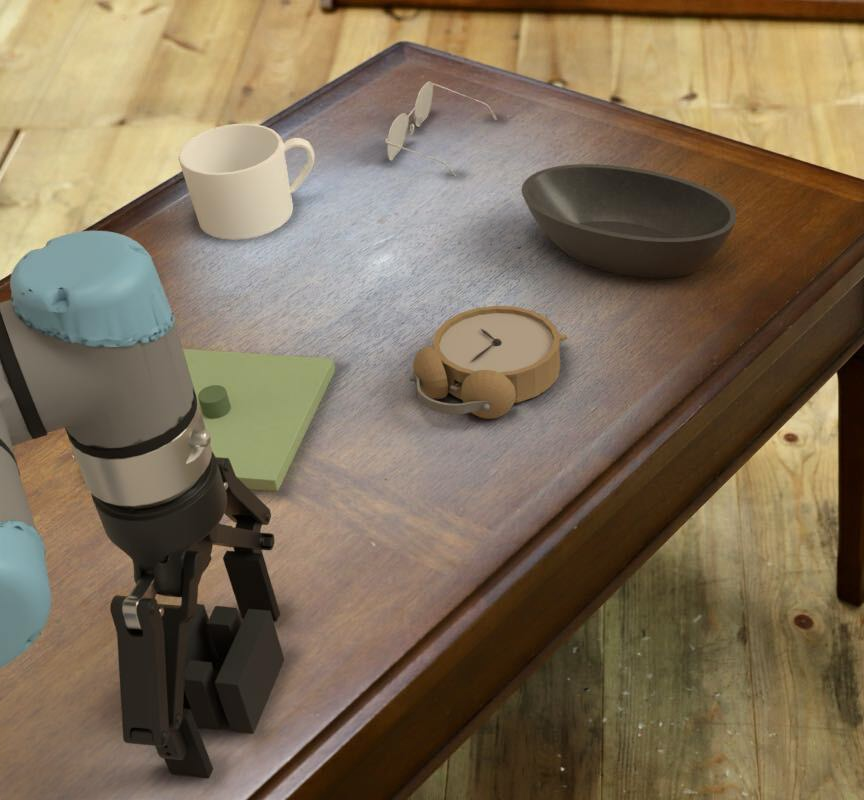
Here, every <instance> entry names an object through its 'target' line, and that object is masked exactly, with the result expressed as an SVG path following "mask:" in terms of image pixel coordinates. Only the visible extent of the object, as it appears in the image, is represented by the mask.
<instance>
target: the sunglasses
mask: <svg viewBox="0 0 864 800" xmlns="http://www.w3.org/2000/svg"><path fill="white" fill-rule="evenodd" d="M434 87H438V88H440V89H443V90H446V91H447V92H452V93H454V94H457V95H459V96H462V97H464V98H468V99H470V100H473V101H475V102H477V103H479V104H482V105H484V106H485V107H487V108H488V110H489V111H490V114H491V116H492V117H493V120H494V121H498V119H497V117H496V114H494V112H493V110H492V109H491V107H490V106H489V104H487V103H485V102H483V101H481V100H478V99H475V98H472V97H470V96H468V95H465V94H462V93H460V92H457V91H455V90H452V89H450V88H448V87H445V86H443V85H440V84H437V83H434V82H432V81H427V82H425V83H424V85H423V86H421V88H420V90H419V92H418V94H417V97H416V100H415V104H414V108H413V109H412V110H411V111H410V112H409V113H408V114H407V113H404V112H402V113H400V114H399V115H398V116H396V117H395V119H394V120H393V121H392V123H391V124H390V128H389V130H388V135H387V136H388V137H386V138H385V144H387V145H386V154H387V159H388V160H389V161H390V162H392V161H393V160H394V158H395V157H396V155H398V153H399V152H400V151H401V150H404V151H407V152H410V153H413V154H417V155H420V156H422V157H425V158H429V159H431V160H433V161H436V162H439V163H442V164H443V165H444V166H446V167H447V168H448V170H449V171H450V172H451V174H452V175H453V176H455V177H456V176H457V175H456V174H455V172H454V171H453V169H452V168H451V166H449V165H448V163H446V162H445V161H443V160H440V159H438V158H436V157H432V156H428V155H425V154H422V153H420V152H417V151H414V150H412V149H409V148H406V147H403V145H404V142H405V139H406V135H407V133H408V130H409V133H408V135H409V137H412V136H413V134H414V131H415V127H418V128H420V127H421V125H422V124H423V122H424V121H425V120H427V118H428V116H429V113H430V110H431V106H432V103H433V102H432V101H433V96H434ZM412 114H413V120H414V123H411V124H409V119H410V116H411V115H412Z"/></svg>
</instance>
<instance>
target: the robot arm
mask: <svg viewBox="0 0 864 800" xmlns="http://www.w3.org/2000/svg"><path fill="white" fill-rule="evenodd" d="M9 285H10V287H9V288H10V291H11V294H10V299H9V300H5V301H2V302H0V669H1V668H3V667H5V666H7V665H9V664H10V663H12V662H14V661H15V660H17V659H18V658H19V657H20V656H22V655H23V654H24V653H25V652H27V651H28V649H30V647H31V646H32V645H33V644H34V642H35V641H36V640H37V639H38V638H39V637H40V636H41V635H42V631H43V630H44V629H45V626H46V625H47V623H48V620H49V617H50V612H51V608H52V591H51V586H50V580H49V575H48V569H47V563H46V555H47V550H46V548H45V543H44V541H43V538H42V536H41V535H40V533H39V531H38V530H37V527H36V523H35V521H34V517H33V514H32V511H31V510H32V509H31V507H30V504H29V501H28V497H27V494H26V491H25V488H24V484H23V482H22V477H21V472H20V468H19V466H18V462H17V458H16V454H15V450H14V447H15V446H18V445H21V444H23V443H26V442H29V441H31V440H37V439H40V438H42V437H43V438H44V437H45V436H48V433H52V432H56V431H58V430H61V429H65V432H66V434H67V437H68V441H69V444H70V446H71V449H72V452H73V454H74V457H75V459H76V462H77V465H78V468H79V470H80V474H81V476H82V479H83V481H84V484H85V486H86V487H87V489H88V490H89V491H90V495H91V499H92V502H93V504H94V507H95V509H96V512H97V515H98V517H99V519H100V522H101V524H102V527H103V530H104V532H105V534H106V536H107V537H108V539H109V540H110V541H111V543H113V545H115V546H116V547H117V548H118V549H119V550H122V552H123V553H125V555H127V556H128V557H129V559H131V560H132V565H133V580H134V583H135V585H134V587H133V588H132V590H131V591H130V593H129V595H128V596H127V595H119V594H118V595H114V596H113V597H112V598H111V602H110V607H109V609H110V614H111V618H112V621H113V624H114V628H115V631H116V639H117V657H118V658H117V659H118V676H119V689H120V704H121V705H120V706H121V707H120V708H121V722H122V724H121V725H122V738H123V742H124V743H125V744H135V745H142V746H151V747H155V750H156V751H157V754H158V757H160V758H161V759H164V762H165V764H166V767H167V769H168V771H169V774H170V775H176V776H185V777H194V778H202V779H211V778H210V777H211V775H212V772H213V771H214V767H213V765H212V762H211V759H210V757H209V754H208V752H207V748H206V745H205V743H204V741H203V739H202V736H201V733H200V730H199V728H198V727H197V724H196V721H195V718H194V716H193V713H192V712H191V709H183V699H184V684H185V668H186V652H187V636H188V622H189V620H190V619H191V618H193V617H194V616H195V615H196V612H197V604H198V597H199V585H200V582H201V579H202V576H203V574H204V573H205V571H206V570H207V568H208V567H209V565H210V563H211V561H212V553H213V546H220V547H226V548H233V550H226V551H225V553H224V554H223V557H222V560H223V564H224V567H225V571H226V573H227V576H228V579H229V583H230V585H231V588H232V592H233V595H234V598H235V601H236V604H237V607H238V610H239V613H240V614H239V615H240V617H241V619H244V617H245V615H246V613H247V610H248V609H256V610H266V611H271V615H272V618H273V622H278V620H279V618H280V615H281V611H280V608H279V605H278V601H277V599H276V598H277V597H276V595H275V591H274V588H273V585H272V581H271V578H270V574H269V571H268V567H267V564H266V559H265V557H264V553H263V551H272V550H273V548H274V547H275V546H274V545H275V535H274V533H271V532H270V533H269V532H261V530H262V527H263V526H268V525H269V524H270V522H271V519H272V511H271V509H270V508H269V507H268V506H267V505H266V504H265V503H264V502H263V501H262V499H260V498H259V497H258V496H257V495H256V494H255V493H254V492H253V491H252V490H251V489H248V488H247V487H246V486H245V485H244V484H243V483H242V482H241V481H240V480H239V479H238V478H237V477H236V475H235V473H234V470H233V467H232V465H231V462H230V460H229V458H221V457H215V455H214V453H213V452H212V448H211V443H210V442H211V437H210V433H208V432H207V431H206V428H205V425H204V422H203V418H202V415H201V412H200V409H199V406H198V403H197V397H196V393H195V390H194V386H193V383H192V379H191V376H190V372H189V369H188V365H187V362H186V358H185V355H184V351H183V349H184V348H183V345H182V341H181V337H180V335H179V329H178V327H177V324H176V319H175V313H174V312H173V311H172V310H173V309H172V308H171V305H170V303H169V300H168V297H167V295H166V292H165V289H164V287H163V284H162V281H161V279H160V275H159V274H158V270H157V267H156V266H155V262H154V259H153V257H152V256H151V255H150V253H149V252H148V251H147V250H146V249H145V247H144V246H143V245H142V244H141V243H139V242H138V241H136V240H135V239H133V238H131V237H129V236H126V235H124V234H121V233H117V232H115V231H109V230H84V231H83V230H82V231H76V232H70V233H66V234H63V235H59V236H57V237H53V238H51V239H49V240H47V242H46V243H45V246H43V247H41V248H36V249H31V250H30V251H28V252H27V253H26V254H24V255H23V256H22V257H21V258H20V259H19V260H18V262H17V263H16V264H15V265H14V268H13V269H12V271H11V275H10V279H9ZM224 515H225V516H226V517H227V518H228V519H229V520H230V521H232V522H233V523H235V526H234V527H233V525H227V524H222V523H220V522H221V521H222V519H223V517H224ZM157 595H159V596H163V597H170V598H171V597H173V598H181V602H180V603H181V604H180V605H175V604H167V603H158V600H157V599H156V597H157Z"/></svg>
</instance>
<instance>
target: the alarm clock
mask: <svg viewBox="0 0 864 800" xmlns="http://www.w3.org/2000/svg"><path fill="white" fill-rule="evenodd" d="M567 339H568V335H567V334H559V331H558V328H557V326H556V325H555V324H554V323H552V321H551V320H549V318H547V317H546V316H544V315H542V314H540V313H538V312H536V311H534V310H530V309H526V308H522V307H519V306H508V305H491V306H482V307H475V308H472V309H469V310H466V311H463V312H460V313H457V314H456V315H454V316H452V317H450V318H448V319H447V320H445V321H444V322H443V323H442V324H441V325H440V326H439V327H438V328H437V329H436V331H435V333H434V336H433V339H432V346H430V345H428V346H425V347H423V348H422V349H420V350H419V351H418V352H417V353H416V354H415V356H414V359H413V363H412V374H411V375H410V376H409V381H410V382H415V385H416V391H417V392H416V393H417V398H418V401H419V402H420V403H421V404H422V405H423V406H425V408H428V409H430V410H431V411H434V412H436V413H440V414H446V415H463V414H468V413H469V414H472V415H474V416H477V417H478V418H480V419H486V420H492V419H498V418H500V417H503V416H504V415H506V414H507V413H508V412H510V410H511V409H512V407H513V405H514V404H517V403H521V402H524V401H527V400H529V399H533V398H535V397H538V396H539V395H540V394H542V393H544V392H545V391H547V390H549V389H550V388H551V387H552V386H553V385H554V383H555V382H556V380H557V379H558V378H559V375H560V369H561V355H560V353H561V350H560V347H561V346H560V343H561V342H564V341H565V340H567ZM448 394H450V395H452V396H453V397H456V398H457V399H459V400H462V403H448V402H443V401H438V400H442V399H445V398H446V397H447V396H448Z"/></svg>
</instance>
